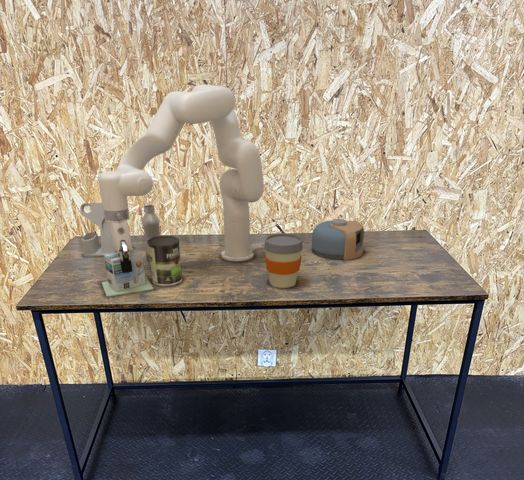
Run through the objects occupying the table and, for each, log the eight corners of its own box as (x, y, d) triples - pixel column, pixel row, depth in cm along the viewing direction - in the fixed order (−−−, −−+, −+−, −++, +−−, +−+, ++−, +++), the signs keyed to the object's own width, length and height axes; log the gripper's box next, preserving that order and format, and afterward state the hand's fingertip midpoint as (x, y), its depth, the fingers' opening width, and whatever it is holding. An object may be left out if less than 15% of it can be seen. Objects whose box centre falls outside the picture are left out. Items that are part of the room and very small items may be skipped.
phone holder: (81, 256, 189) (72, 209, 180) (89, 247, 197) (80, 202, 188) (127, 256, 189) (120, 209, 180) (132, 247, 198) (126, 201, 189)
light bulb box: (116, 292, 159) (111, 260, 154) (107, 285, 164) (102, 254, 158) (146, 284, 165) (142, 253, 159) (137, 278, 169) (133, 247, 164)
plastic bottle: (147, 264, 182) (140, 209, 172) (145, 257, 188) (139, 204, 178) (164, 262, 184) (159, 208, 173) (162, 256, 189) (157, 203, 179)
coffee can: (188, 278, 170) (185, 238, 163) (168, 288, 163) (164, 247, 156) (165, 272, 175) (161, 233, 168) (145, 282, 168) (140, 241, 160)
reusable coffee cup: (261, 289, 163) (261, 244, 155) (266, 274, 174) (266, 232, 166) (299, 291, 162) (301, 246, 154) (302, 276, 172) (304, 234, 165)
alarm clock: (354, 263, 183) (357, 231, 177) (304, 254, 191) (305, 224, 185) (368, 247, 198) (371, 217, 192) (321, 240, 206) (323, 211, 200)
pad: (146, 276, 172) (146, 275, 171) (153, 289, 162) (153, 288, 162) (101, 283, 167) (101, 282, 166) (106, 297, 157) (106, 295, 157)
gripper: (134, 220, 147) (141, 274, 155) (124, 206, 160) (131, 256, 169) (108, 223, 144) (117, 278, 153) (100, 208, 158) (108, 259, 166)
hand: (124, 266), depth 161 cm, fingers open, 9 cm apart
